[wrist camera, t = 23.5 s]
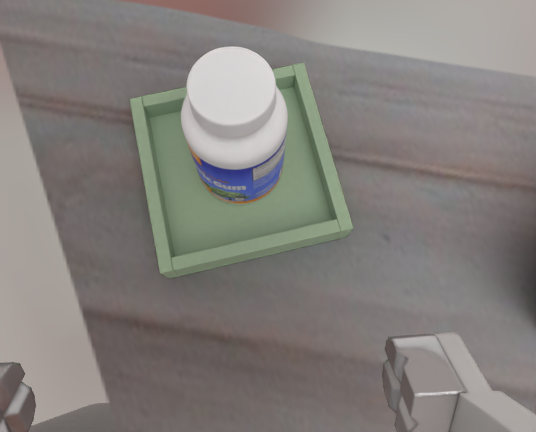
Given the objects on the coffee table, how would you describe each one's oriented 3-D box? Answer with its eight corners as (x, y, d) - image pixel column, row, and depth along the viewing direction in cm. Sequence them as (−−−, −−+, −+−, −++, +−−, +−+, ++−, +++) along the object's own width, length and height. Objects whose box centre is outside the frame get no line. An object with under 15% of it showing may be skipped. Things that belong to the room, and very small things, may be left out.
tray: (168, 279, 28) (159, 273, 26) (139, 115, 31) (129, 98, 29) (347, 237, 29) (353, 228, 26) (301, 81, 32) (304, 62, 29)
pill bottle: (182, 174, 29) (141, 94, 19) (234, 114, 30) (219, 11, 21) (248, 223, 28) (239, 164, 19) (299, 160, 29) (315, 74, 20)
